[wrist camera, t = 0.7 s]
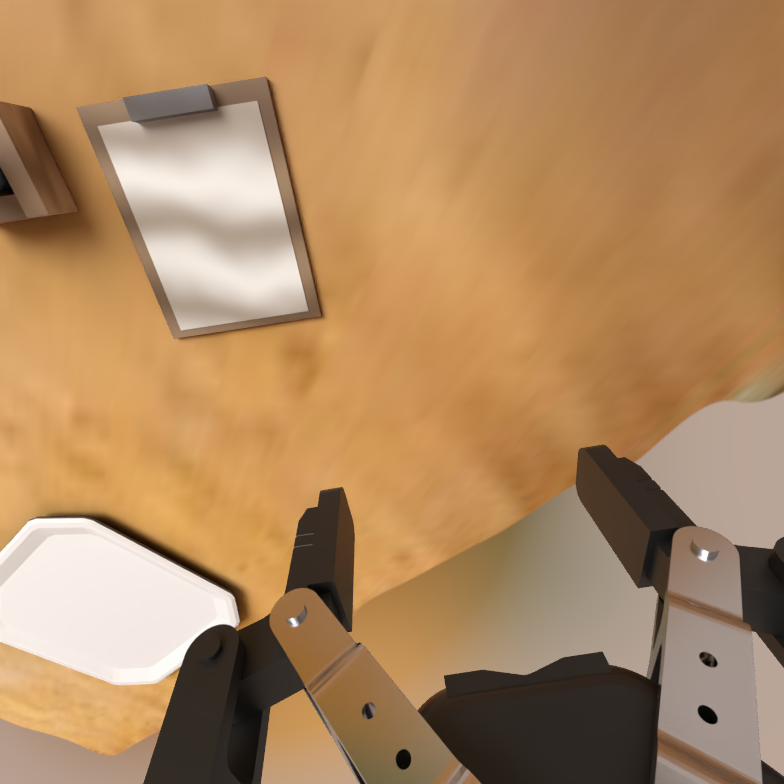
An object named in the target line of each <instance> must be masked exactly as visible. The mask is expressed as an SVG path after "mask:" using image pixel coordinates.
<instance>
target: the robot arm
mask: <svg viewBox="0 0 784 784" xmlns="http://www.w3.org/2000/svg"><path fill="white" fill-rule="evenodd" d="M576 488H577V493H578V496H579V498H580V500H581V502H582V503H583V505H584V507H585V508H586V510H587V511H588V513H589V514H590V516H591V517H592V518H593V520H594V522H595V523H596V525H597V526H598V528H599V529H600V531H601V532H602V534H603V536H604V537H605V538H606V540H607V541H608V543H609V545H610V546H611V547H612V549H613V551H614V552H615V554H616V555H617V557H618V558H619V560H620V561H621V563H622V564H623V566H624V567H625V569H626V570H627V572H628V573H629V575H630V576H631V578H632V580H633V581H634V583H635V584H636V586H637V587H638V588H643V587H649V586H653V587H654V588H655V590H656V591H657V593H658V598H657V603H656V612H655V621H654V629H653V637H652V646H651V654H650V661H649V666H648V672H647V677H644V676H642V675H640V674H638V673H636V672H633V671H630V670H628V669H625V668H621V667H617V666H613V665H609V664H608V662H607V660H606V658H605V656H604V654H603V652H597V653H590V654H584V655H577V656H570V657H564V658H561V659H559V660H557V661H555V662H553V663H551V664H549V665H547V666H545V667H543V668H541V669H539V670H537V671H535V672H533V673H531V674H528V675H518V674H510V673H503V672H495V671H487V670H478V671H472V672H465V673H459V674H452V675H446V676H444V678H445V685H446V688H445V689H443V690H441V691H439V692H438V693H436V694H435V695H433V696H432V697H430V698H429V699H428V700H427V701H426V702H425V703H424V704H423V705H422V706H421V707H420V708H419V709H418V711H417V710H416V708H415V707H414V706H413V705H412V704H411V702H410V701H409V700H408V699H407V698H406V696H405V695H404V694H403V692H402V691H401V690H400V689H399V688H398V687H397V685H396V684H395V683H394V681H393V680H392V679H391V678H390V677H389V675H388V674H387V673H386V672H385V670H384V669H383V668H382V667H381V665H380V664H379V663H378V662H377V661H376V659H375V658H374V657H373V656H372V654H371V653H370V652H369V651H368V650H367V649H366V647H365V646H364V645H363V644H361V643H358V644H357V643H356V642H355V641H354V640H353V639H352V637H351V636H350V635H349V634H348V632H351V631H352V611H353V577H354V542H355V533H354V524H353V519H352V516H351V512H350V509H349V506H348V502H347V499H346V495H345V492H344V489H343V488H342V487H340V488H334V489H328V490H322V491H320V495H319V502H318V507H314V508H308V509H307V510H306V511H305V513H304V514H303V516H302V517H301V519H300V520H299V523H298V528H297V533H296V538H295V544H294V549H293V554H292V559H291V565H290V570H289V575H288V580H287V586H286V590H285V594H284V595H283V596H282V597H281V598H280V599H279V600H278V601H277V602H276V604H275V605H274V607H273V609H272V611H271V613H270V614H269V615H267V616H266V617H265V618H263V619H261V620H259V621H257V622H255V623H253V624H251V625H249V626H247V627H245V628H243V629H241V630H238V631H236V629H235V628H234V627H232V626H231V625H227V624H220V625H216V626H213V627H210V628H208V629H207V630H205V631H204V632H202V633H201V634H200V635H199V636H198V637H197V638H196V639H195V640H194V641H193V642H192V643H191V645H190V646H189V648H188V649H187V651H186V653H185V656H184V659H183V662H182V665H181V668H180V671H179V674H178V677H177V681H176V684H175V687H174V690H173V693H172V696H171V699H170V702H169V706H168V709H167V712H166V715H165V718H164V721H163V724H162V727H161V730H160V734H159V737H158V740H157V743H156V746H155V749H154V752H153V755H152V758H151V762H150V765H149V768H148V771H147V774H146V777H145V780H144V783H143V784H261V777H262V769H263V762H264V754H265V745H266V738H267V730H268V722H269V714H270V707H271V706H272V705H274V704H276V703H278V702H280V701H282V700H284V699H285V698H287V697H289V696H291V695H293V694H295V693H297V692H298V691H300V690H302V689H303V690H304V691H305V693H306V694H307V696H308V698H309V699H310V701H311V703H312V705H313V706H314V708H315V710H316V711H317V713H318V715H319V716H320V718H321V719H322V721H323V723H324V724H325V726H326V728H327V730H328V731H329V733H330V735H331V736H332V738H333V739H334V741H335V743H336V745H337V746H338V748H339V750H340V751H341V753H342V755H343V757H344V759H345V760H346V762H347V764H348V766H349V767H350V769H351V771H352V773H353V774H354V776H355V777H356V779H357V781H358V783H359V784H784V776H782V775H781V774H780V773H778V772H777V771H775V770H774V769H773V768H771V767H770V766H769V765H767V764H766V763H765V762H763V761H762V760H761V756H760V743H759V727H758V714H757V699H756V686H755V671H754V657H753V642H752V631H754V632H756V633H757V634H758V635H759V637H760V638H761V639H762V640H763V642H764V643H765V644H766V645H767V647H768V648H769V650H770V651H771V652H772V653H773V654H774V656H775V657H776V658H777V660H778V661H779V662H780V664H781V665H782V666H783V667H784V537H783V538H780V539H779V540H778V541H777V542H776V544H775V546H774V548H773V549H766V548H756V547H746V546H738V545H733V544H732V543H731V542H730V541H729V540H728V539H727V538H725V537H724V536H722V535H720V534H719V533H717V532H715V531H712V530H709V529H706V528H702V527H697V526H696V525H695V524H694V523H693V522H692V521H691V520H690V518H689V517H688V516H687V515H686V514H685V513H684V512H683V511H682V510H681V509H680V508H679V507H678V506H677V505H676V504H675V502H674V501H673V500H672V499H671V498H670V497H669V496H668V495H667V494H666V493H665V492H664V491H663V490H661V489H660V487H659V485H658V484H657V483H656V482H655V481H653V480H652V479H651V477H650V476H649V475H648V474H647V473H646V472H645V471H644V470H643V468H642V467H641V466H639V465H637V464H636V463H634V462H632V461H630V460H629V459H627V458H625V457H623V458H617V457H616V456H615V455H614V454H613V453H612V451H611V450H610V449H609V448H608V447H607V446H606V445H598V446H592V447H586V448H581V449H580V450H579V452H578V463H577V475H576Z"/></svg>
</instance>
